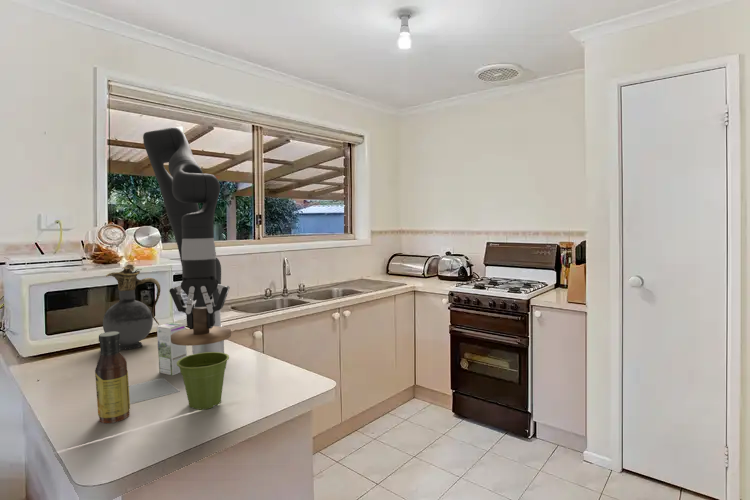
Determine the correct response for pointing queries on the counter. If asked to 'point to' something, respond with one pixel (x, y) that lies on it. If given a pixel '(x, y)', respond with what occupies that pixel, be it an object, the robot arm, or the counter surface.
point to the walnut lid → (200, 331)
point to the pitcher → (130, 310)
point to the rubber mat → (150, 390)
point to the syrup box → (169, 348)
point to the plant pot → (203, 378)
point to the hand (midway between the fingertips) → (201, 328)
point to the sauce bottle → (112, 380)
